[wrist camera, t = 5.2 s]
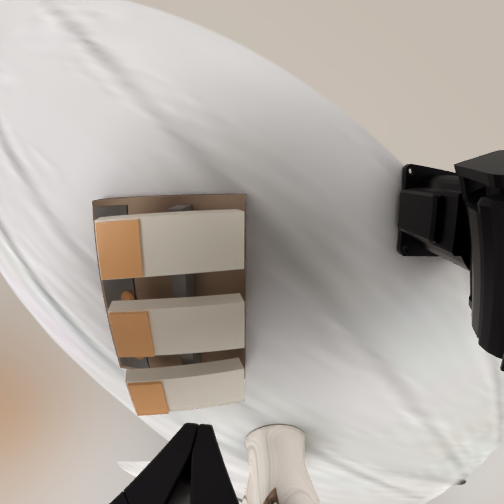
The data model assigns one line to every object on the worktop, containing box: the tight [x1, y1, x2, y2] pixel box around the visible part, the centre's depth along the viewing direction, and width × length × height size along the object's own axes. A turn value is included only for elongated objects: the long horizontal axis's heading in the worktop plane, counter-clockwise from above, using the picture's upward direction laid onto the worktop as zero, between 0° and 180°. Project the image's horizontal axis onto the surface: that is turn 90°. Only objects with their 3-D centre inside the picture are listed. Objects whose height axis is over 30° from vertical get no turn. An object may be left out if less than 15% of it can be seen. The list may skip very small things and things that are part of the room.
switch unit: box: [92, 194, 246, 379], centre depth 17 cm, size 10×13×4 cm
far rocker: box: [126, 358, 244, 416], centre depth 15 cm, size 7×3×1 cm, turn 89°
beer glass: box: [242, 425, 321, 504], centre depth 16 cm, size 7×7×15 cm
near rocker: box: [94, 209, 244, 280], centre depth 13 cm, size 7×3×1 cm, turn 89°
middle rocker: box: [108, 293, 245, 357], centre depth 14 cm, size 7×3×1 cm, turn 89°
